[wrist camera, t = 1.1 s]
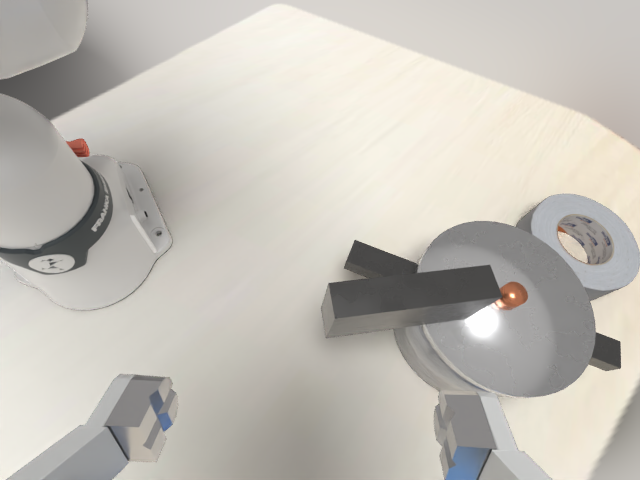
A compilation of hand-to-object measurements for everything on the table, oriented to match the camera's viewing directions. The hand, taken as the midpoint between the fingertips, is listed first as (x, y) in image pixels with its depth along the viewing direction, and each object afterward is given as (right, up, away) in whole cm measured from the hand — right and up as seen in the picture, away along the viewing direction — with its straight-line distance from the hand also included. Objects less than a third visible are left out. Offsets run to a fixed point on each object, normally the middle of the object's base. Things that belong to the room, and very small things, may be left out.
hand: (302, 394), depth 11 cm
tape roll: (+37, +3, +44) cm, 58 cm away
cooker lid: (+15, -3, +28) cm, 32 cm away
